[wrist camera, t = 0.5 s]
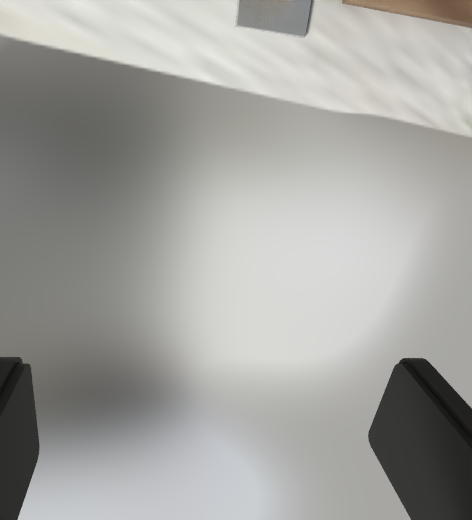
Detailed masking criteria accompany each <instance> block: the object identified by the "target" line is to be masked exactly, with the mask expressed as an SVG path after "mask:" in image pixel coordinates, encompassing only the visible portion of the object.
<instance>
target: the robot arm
mask: <svg viewBox="0 0 472 520" xmlns="http://www.w3.org/2000/svg"><path fill="white" fill-rule="evenodd" d="M368 437H369V442H370V445H371V447H372V449H373V451H374V453H375V455H376V456H377V458H378V460H379V462H380V464H381V465H382V467H383V469H384V471H385V473H386V475H387V477H388V478H389V480H390V482H391V484H392V486H393V487H394V489H395V491H396V493H397V494H398V497H399V498H400V500H401V502H402V504H403V505H404V507H405V509H406V511H407V513H408V515H409V516H410V518H411V520H472V409H471V407H470V406H469V405H468V404H467V403H466V402H465V401H464V400H463V399H462V398H461V397H460V395H459V394H458V393H457V392H456V391H455V390H454V389H453V388H452V387H451V386H450V385H449V384H448V382H447V381H446V380H445V379H444V378H443V377H442V376H441V375H440V374H439V373H438V371H437V370H436V369H435V368H434V367H433V366H432V365H431V364H430V363H429V362H428V361H427V360H426V359H423V358H404V359H402V360H400V362H399V364H396V365H395V367H394V369H393V372H392V374H391V377H390V379H389V382H388V384H387V387H386V389H385V392H384V394H383V397H382V400H381V402H380V405H379V407H378V410H377V412H376V415H375V417H374V420H373V423H372V425H371V428H370V430H369V435H368ZM38 455H39V439H38V429H37V420H36V411H35V402H34V393H33V385H32V375H31V367H30V365H29V364H23V363H22V359H21V358H19V357H0V520H17V519H18V516H19V513H20V510H21V507H22V504H23V501H24V498H25V496H26V493H27V490H28V487H29V484H30V481H31V478H32V475H33V472H34V469H35V466H36V463H37V460H38Z"/></svg>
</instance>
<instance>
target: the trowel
mask: <svg viewBox="0 0 472 520" xmlns="http://www.w3.org/2000/svg"><path fill="white" fill-rule="evenodd" d="M310 6H311V0H238V5H237V15H236V25H235V27H241V28H247V29H253V30H259V31H265V32H271V33H277V34H283V35H289V36H295V37H301V38H303V37H305V35H306V29H307V23H308V17H309V11H310Z"/></svg>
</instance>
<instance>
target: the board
mask: <svg viewBox="0 0 472 520" xmlns="http://www.w3.org/2000/svg"><path fill="white" fill-rule="evenodd" d="M342 3H344V4H349V5H354V6H359V7H365V8H370V9H375V10H381V11H386V12H391V13H396V14H402V15H407V16H412V17H417V18H423V19H428V20H433V21H438V22H444V23H449V24H454V25H459V26H465V27H470V28H472V0H343V1H342Z"/></svg>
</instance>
